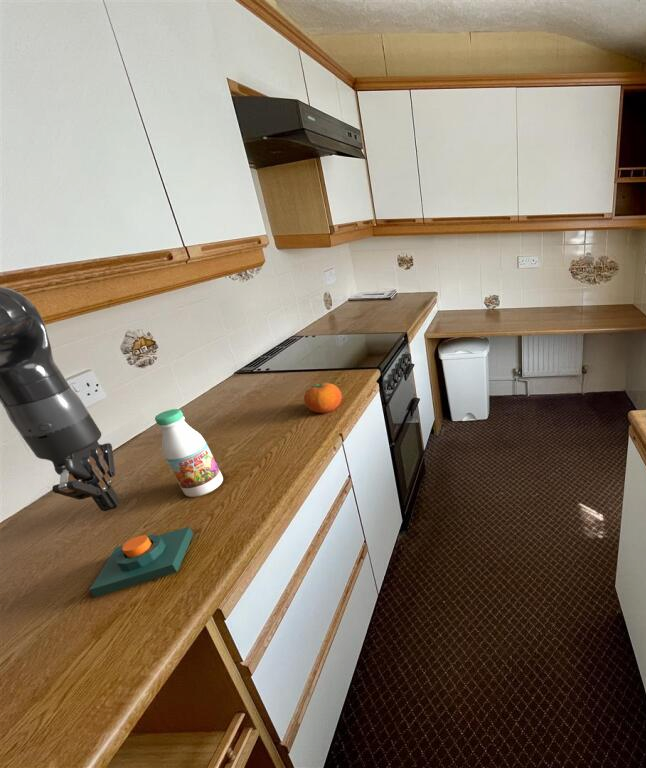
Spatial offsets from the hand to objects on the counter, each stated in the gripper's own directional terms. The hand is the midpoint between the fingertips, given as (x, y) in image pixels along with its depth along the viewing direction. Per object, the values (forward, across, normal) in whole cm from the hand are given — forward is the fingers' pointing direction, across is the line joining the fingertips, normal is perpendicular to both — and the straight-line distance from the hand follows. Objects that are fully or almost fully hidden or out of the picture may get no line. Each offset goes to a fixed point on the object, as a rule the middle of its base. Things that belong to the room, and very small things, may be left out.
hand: (112, 507), depth 70 cm
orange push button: (+10, 0, 0) cm, 10 cm away
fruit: (+14, -49, +30) cm, 60 cm away
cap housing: (+14, 0, 0) cm, 14 cm away
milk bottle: (+14, -22, +4) cm, 26 cm away
